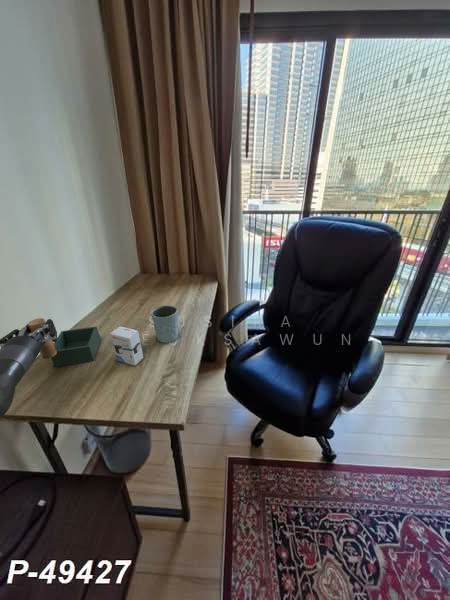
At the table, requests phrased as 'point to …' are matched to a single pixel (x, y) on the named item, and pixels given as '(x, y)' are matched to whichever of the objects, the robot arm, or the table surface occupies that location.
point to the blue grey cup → (165, 323)
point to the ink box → (127, 345)
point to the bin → (76, 346)
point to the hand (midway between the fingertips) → (42, 322)
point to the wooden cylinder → (48, 347)
